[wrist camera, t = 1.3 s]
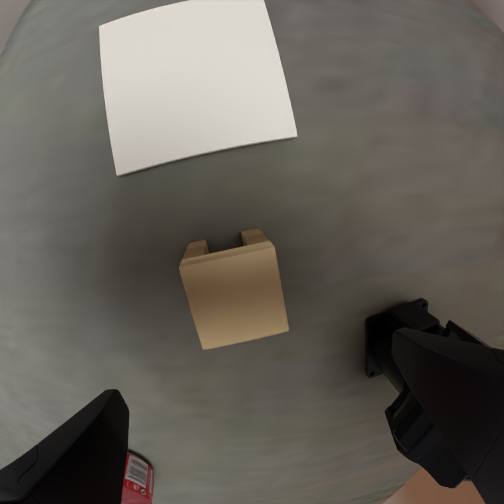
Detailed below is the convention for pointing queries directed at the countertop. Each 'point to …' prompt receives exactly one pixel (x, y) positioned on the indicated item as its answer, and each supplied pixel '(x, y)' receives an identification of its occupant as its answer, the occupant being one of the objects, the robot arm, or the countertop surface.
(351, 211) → the countertop surface
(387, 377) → the robot arm
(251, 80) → the board
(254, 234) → the mini stool
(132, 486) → the soda can
